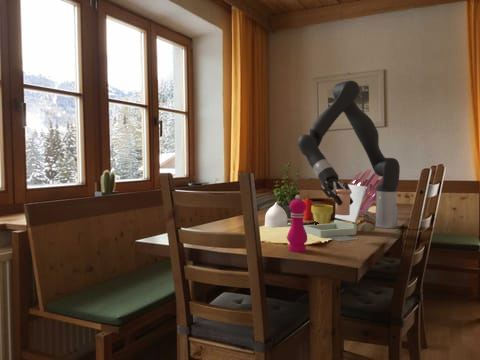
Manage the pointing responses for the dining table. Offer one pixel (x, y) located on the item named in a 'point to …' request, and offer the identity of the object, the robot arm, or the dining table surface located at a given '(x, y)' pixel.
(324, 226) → the cold frame
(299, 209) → the pepper mill
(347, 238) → the slate coaster
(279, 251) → the dining table surface
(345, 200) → the terracotta pot
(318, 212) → the plant pot
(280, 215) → the teardrop
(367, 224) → the chocolate bunny
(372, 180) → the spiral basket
